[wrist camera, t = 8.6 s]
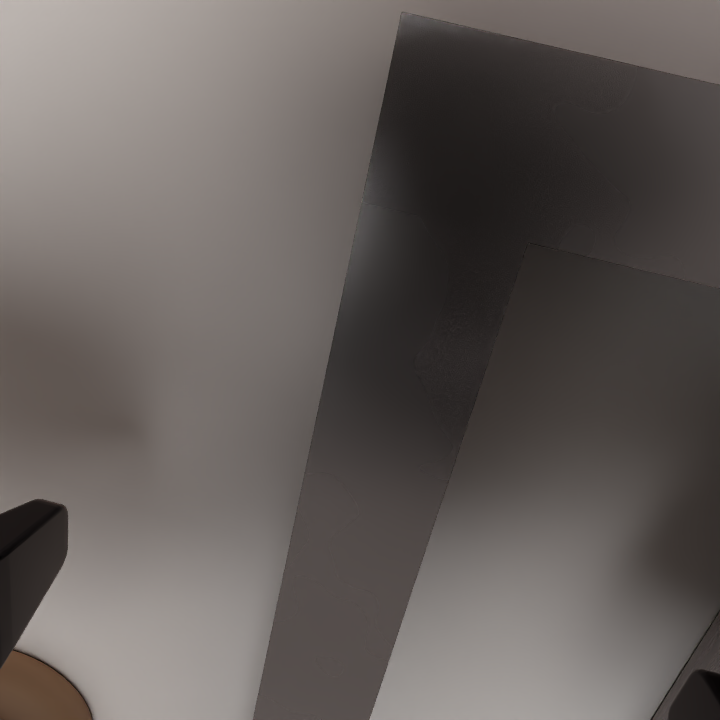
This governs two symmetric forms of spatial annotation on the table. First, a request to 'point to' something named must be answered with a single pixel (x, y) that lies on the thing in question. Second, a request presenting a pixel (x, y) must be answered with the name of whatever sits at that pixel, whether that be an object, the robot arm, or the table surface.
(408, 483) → the grey frame
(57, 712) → the peg stand
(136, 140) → the table surface
